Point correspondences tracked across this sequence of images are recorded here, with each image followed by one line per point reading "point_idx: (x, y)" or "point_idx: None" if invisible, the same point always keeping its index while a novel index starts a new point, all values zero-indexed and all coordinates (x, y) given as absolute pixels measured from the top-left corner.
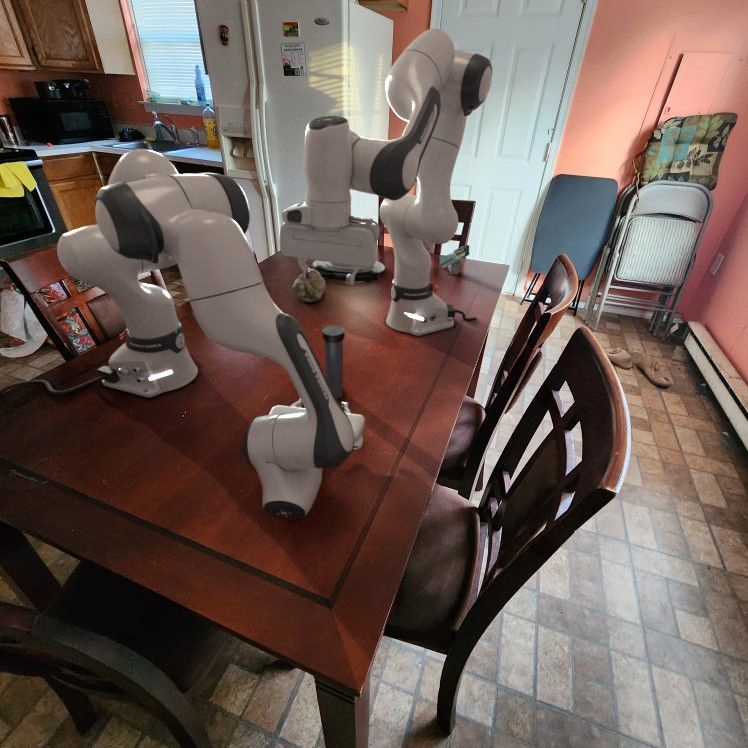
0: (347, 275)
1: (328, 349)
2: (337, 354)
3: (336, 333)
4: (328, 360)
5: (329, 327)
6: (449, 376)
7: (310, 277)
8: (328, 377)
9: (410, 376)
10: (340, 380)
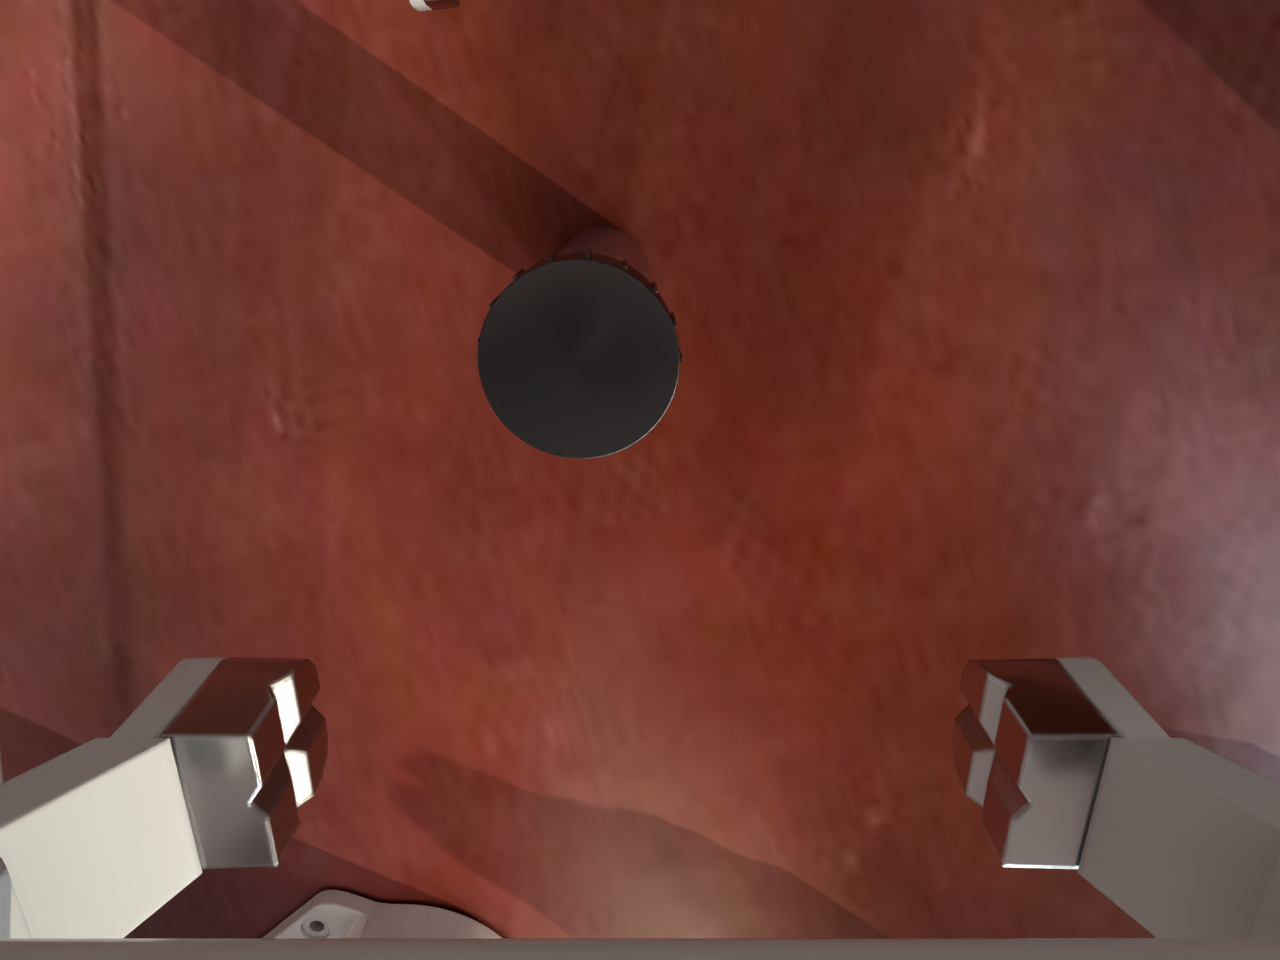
0: (249, 789)
1: None
2: None
3: (533, 316)
4: (614, 253)
5: (631, 406)
6: (57, 590)
7: (975, 681)
8: (620, 242)
9: (253, 538)
10: None
